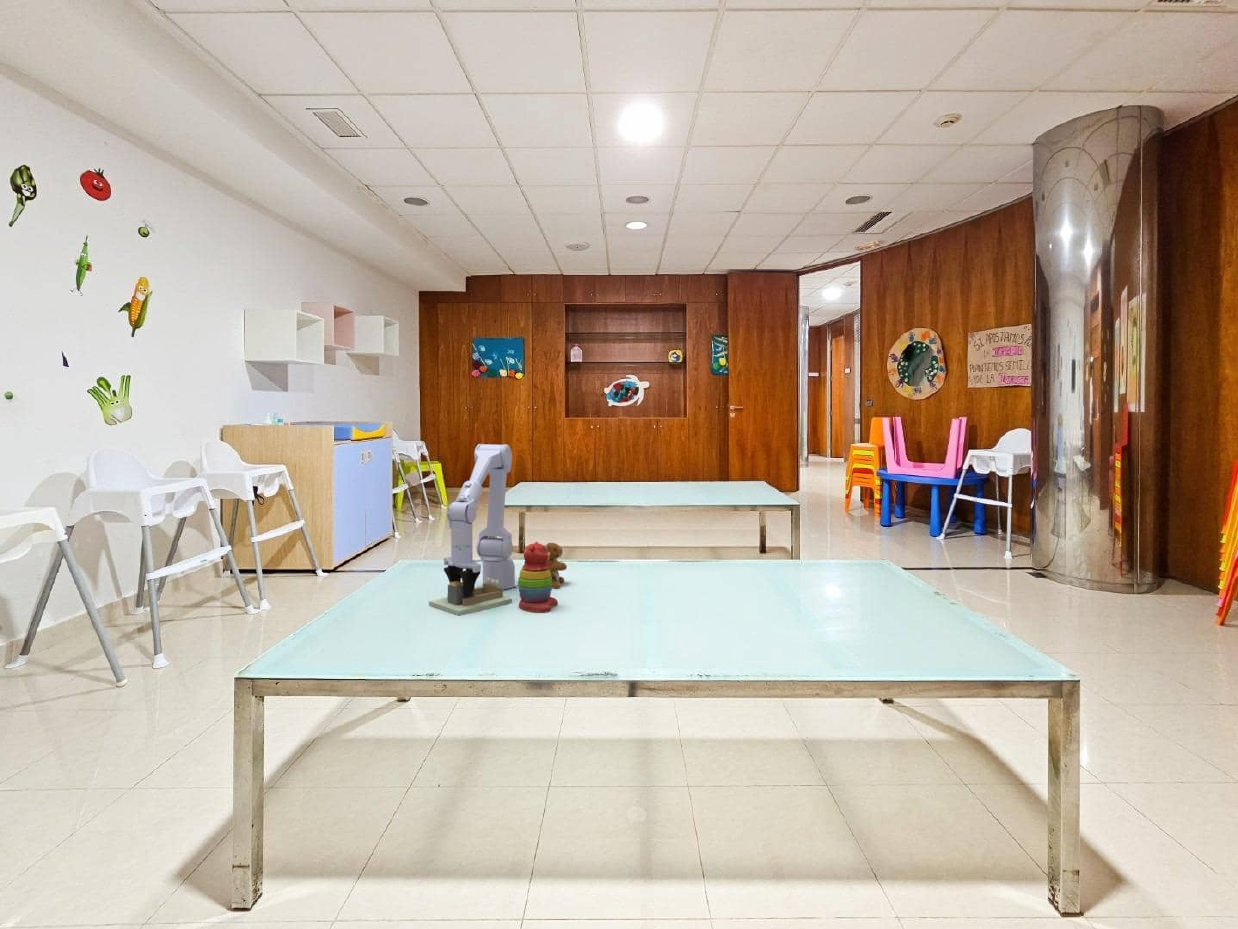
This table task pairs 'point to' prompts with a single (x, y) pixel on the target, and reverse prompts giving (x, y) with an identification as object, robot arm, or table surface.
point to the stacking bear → (536, 580)
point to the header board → (475, 600)
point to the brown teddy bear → (555, 564)
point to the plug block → (457, 593)
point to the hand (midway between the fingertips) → (461, 594)
